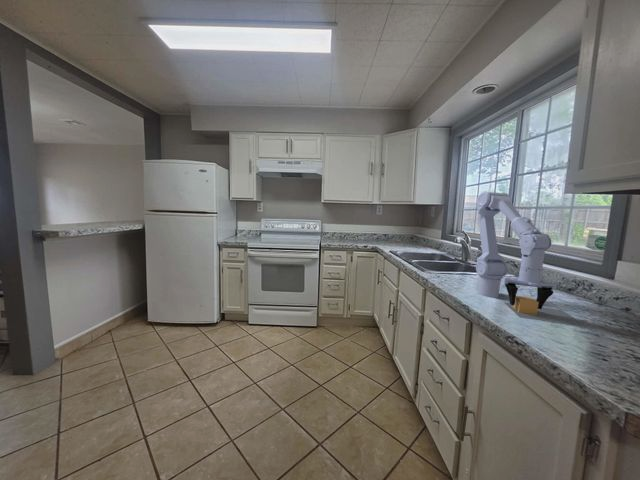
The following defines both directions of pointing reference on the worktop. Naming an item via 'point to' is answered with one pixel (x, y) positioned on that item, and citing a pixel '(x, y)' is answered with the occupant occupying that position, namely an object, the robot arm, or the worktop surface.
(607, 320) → the worktop surface
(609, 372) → the worktop surface
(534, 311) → the orange block
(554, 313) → the plate
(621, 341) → the worktop surface
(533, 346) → the worktop surface
